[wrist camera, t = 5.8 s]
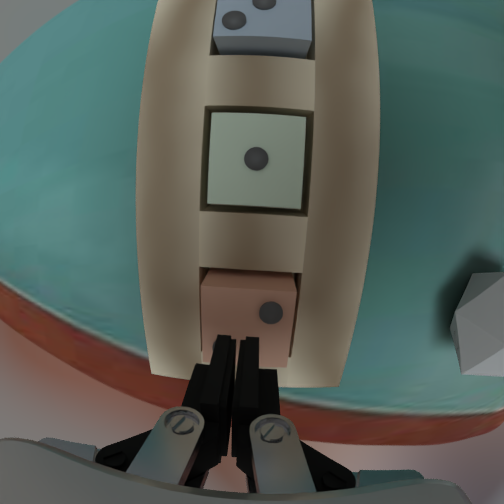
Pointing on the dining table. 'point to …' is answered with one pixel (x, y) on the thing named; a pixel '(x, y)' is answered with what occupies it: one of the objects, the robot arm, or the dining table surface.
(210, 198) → the button one
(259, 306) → the button two
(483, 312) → the die
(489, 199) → the dining table surface
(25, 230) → the dining table surface
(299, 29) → the button three
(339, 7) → the button board
